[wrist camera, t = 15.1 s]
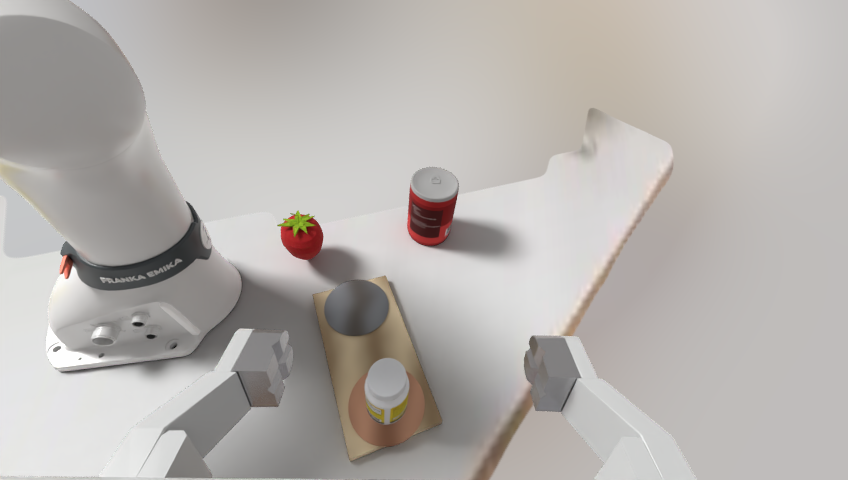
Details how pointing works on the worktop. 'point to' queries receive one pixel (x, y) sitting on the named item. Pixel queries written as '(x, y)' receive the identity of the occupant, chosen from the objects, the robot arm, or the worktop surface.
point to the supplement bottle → (386, 391)
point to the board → (370, 362)
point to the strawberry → (302, 236)
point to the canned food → (431, 205)
